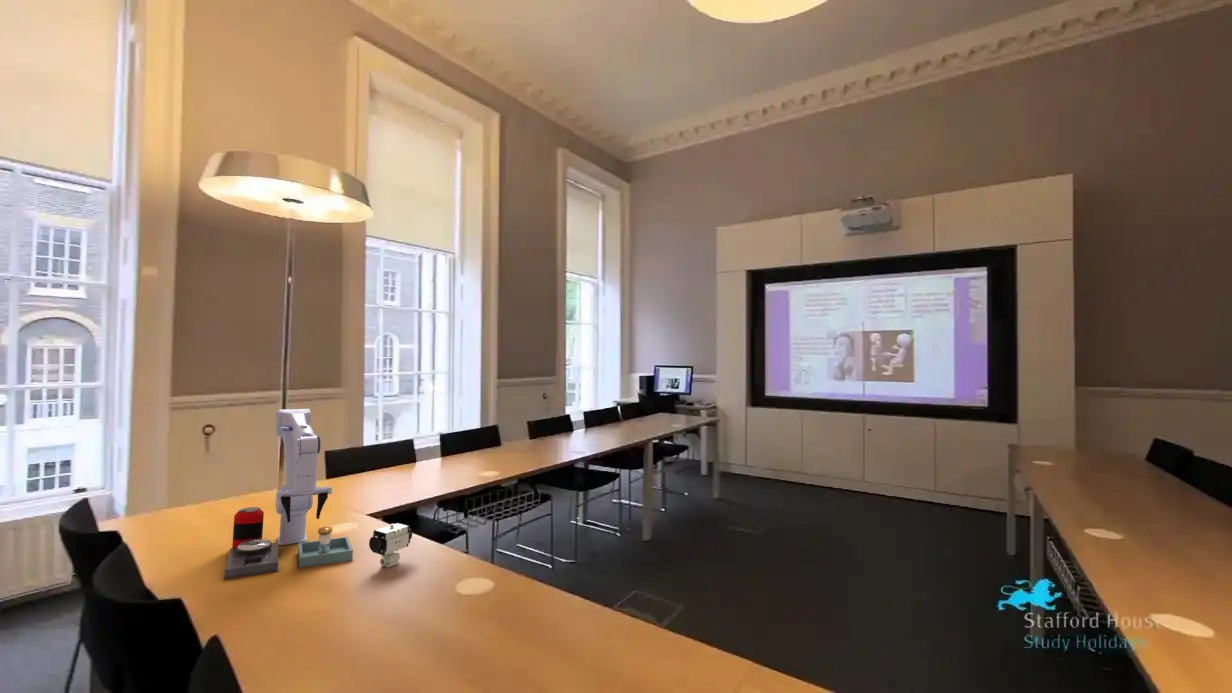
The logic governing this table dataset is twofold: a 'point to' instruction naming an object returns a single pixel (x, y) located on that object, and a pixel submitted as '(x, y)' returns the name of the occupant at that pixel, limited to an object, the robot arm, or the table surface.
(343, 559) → the tray
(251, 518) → the soda can
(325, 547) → the lock pin
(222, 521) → the table surface
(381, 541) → the pneumatic valve
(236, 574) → the bracket
